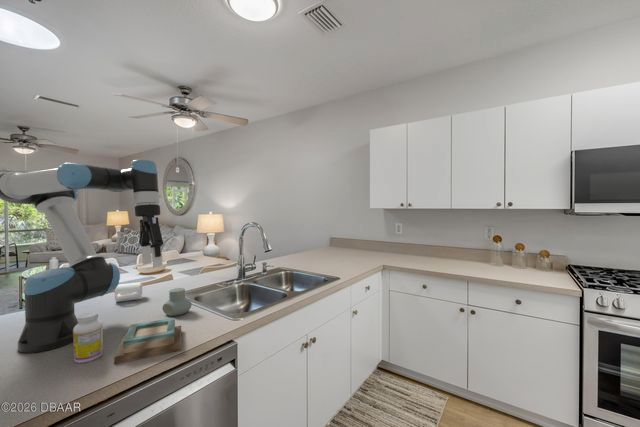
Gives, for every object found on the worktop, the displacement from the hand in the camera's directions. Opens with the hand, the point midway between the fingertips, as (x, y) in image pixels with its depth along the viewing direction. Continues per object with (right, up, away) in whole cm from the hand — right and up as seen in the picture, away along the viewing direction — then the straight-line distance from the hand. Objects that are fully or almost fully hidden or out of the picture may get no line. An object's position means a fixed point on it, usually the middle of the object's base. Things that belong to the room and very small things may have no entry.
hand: (152, 265), depth 96 cm
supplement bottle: (-10, -25, -15) cm, 30 cm away
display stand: (+4, -24, -8) cm, 26 cm away
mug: (-32, -24, +34) cm, 53 cm away
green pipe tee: (-1, -24, +20) cm, 31 cm away
